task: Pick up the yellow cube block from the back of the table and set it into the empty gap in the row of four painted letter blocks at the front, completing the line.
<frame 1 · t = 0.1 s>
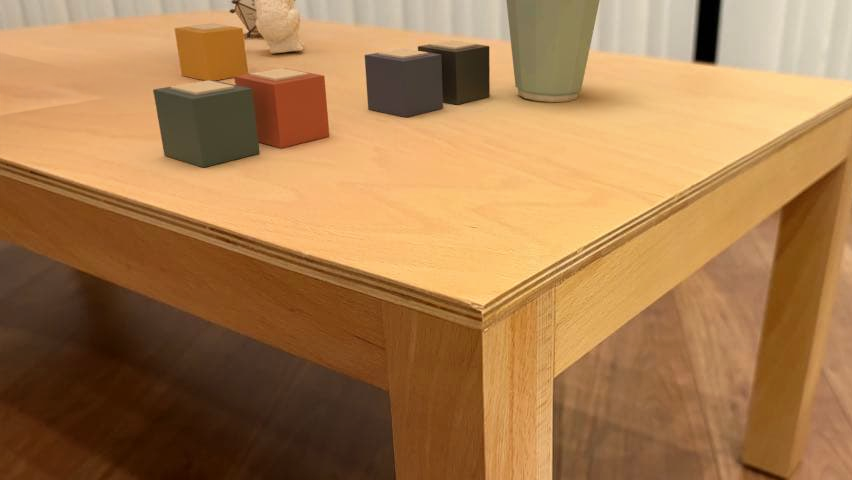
yellow cube block: (215, 75, 94), on the table
block a: (212, 154, 66), on the table
block d: (454, 97, 86), on the table
block b: (286, 137, 71), on the table
block c: (405, 108, 81), on the table
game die: (265, 37, 121), on the table
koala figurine: (285, 53, 109), on the table
disposable coffee cup: (551, 98, 88), on the table
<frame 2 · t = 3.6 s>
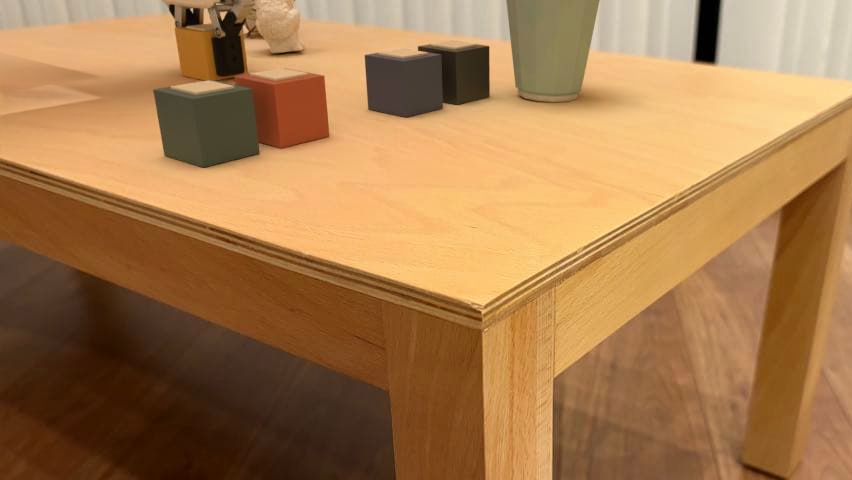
hand: (214, 69, 94), 1 cm above the table, tool pointing down, fingers closed on yellow cube block, 5 cm apart
yellow cube block: (215, 75, 94), on the table, touching gripper
everything else where it was.
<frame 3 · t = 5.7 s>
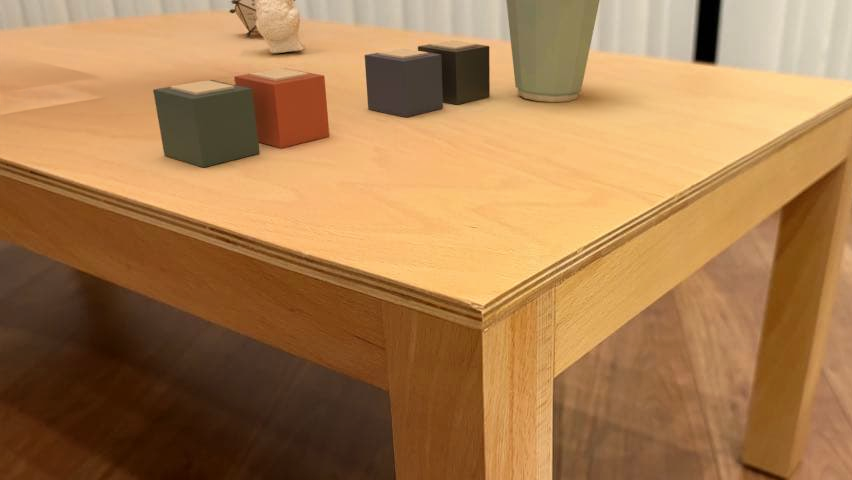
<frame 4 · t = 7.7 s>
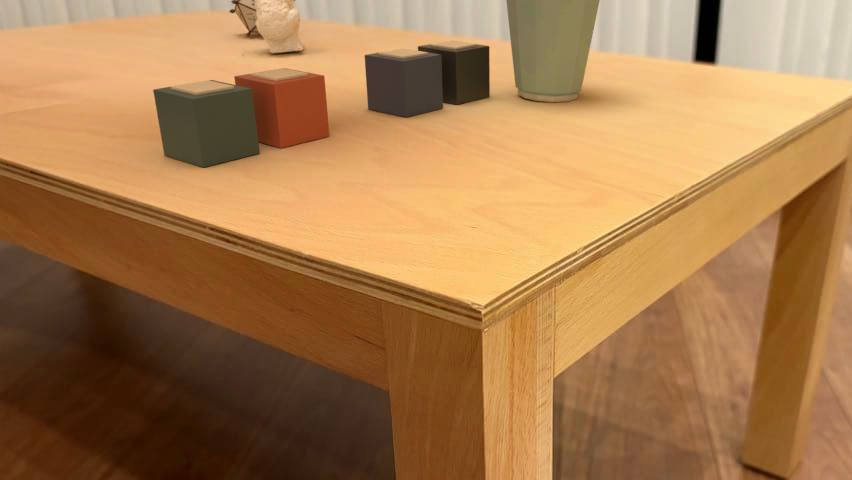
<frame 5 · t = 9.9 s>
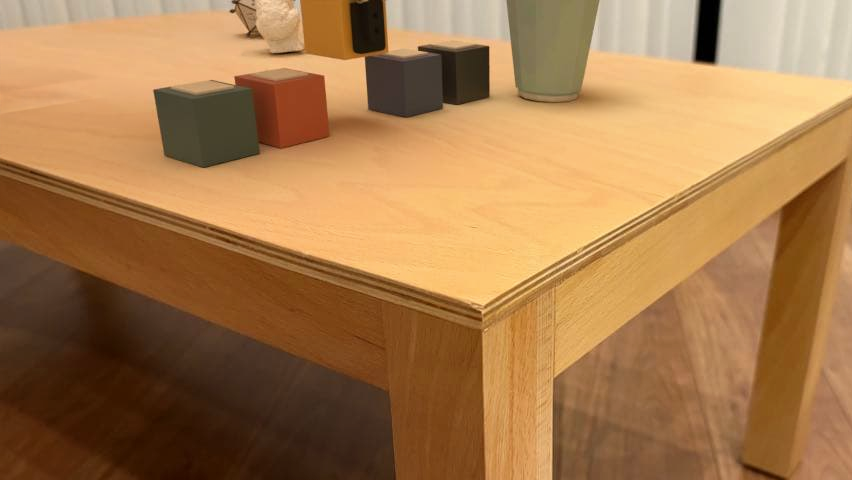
hand: (346, 45, 73), 7 cm above the table, tool pointing down, fingers closed on yellow cube block, 5 cm apart
yellow cube block: (347, 53, 74), point 6 cm above the table, touching gripper
everything else where it was.
when the fingers open (1 cm above the table, at t = 11.7 s): yellow cube block stays where it is, on the table.
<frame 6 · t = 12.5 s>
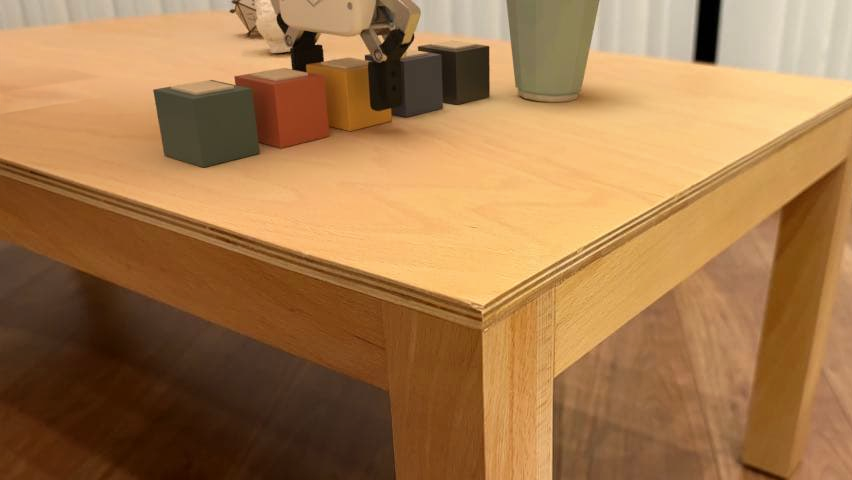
hand: (347, 99, 75), 2 cm above the table, tool pointing down, fingers open, 9 cm apart
yellow cube block: (351, 121, 76), on the table
everything else where it was.
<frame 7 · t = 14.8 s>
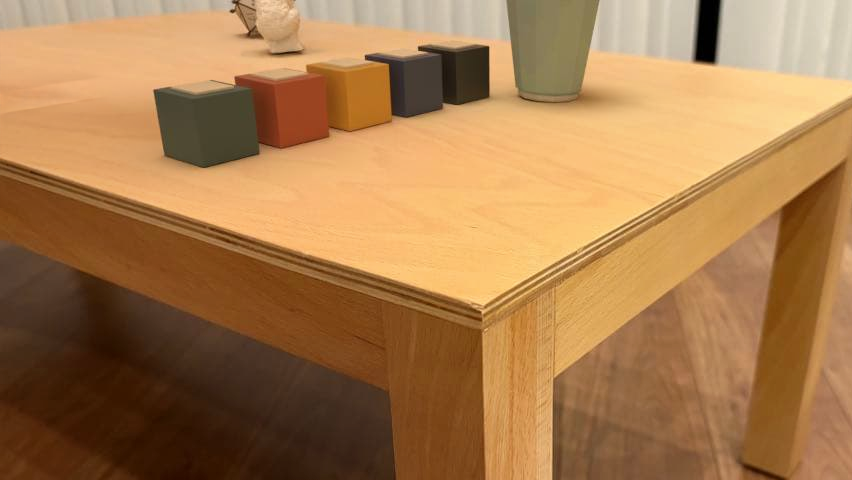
nothing on the table moved.
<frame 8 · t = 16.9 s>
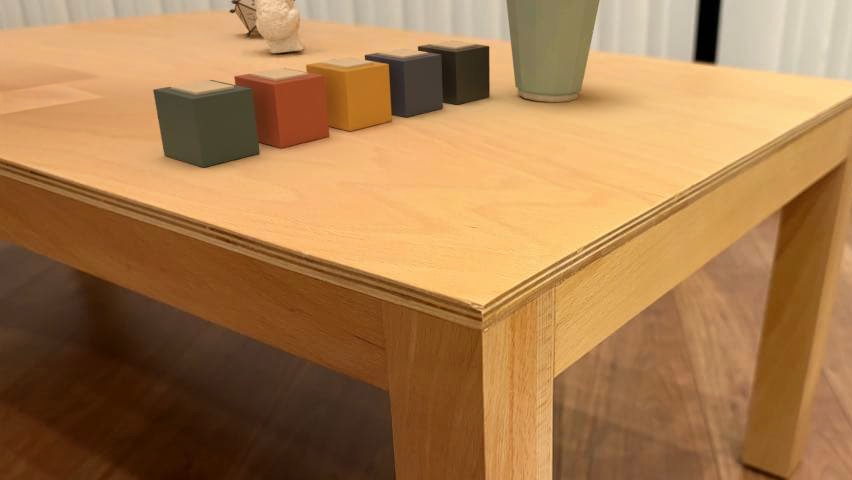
nothing on the table moved.
at the end: yellow cube block 0.2 cm from the target spot, on the table; yellow cube block tilted 0°; block b moved 0.0 cm from its start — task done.
